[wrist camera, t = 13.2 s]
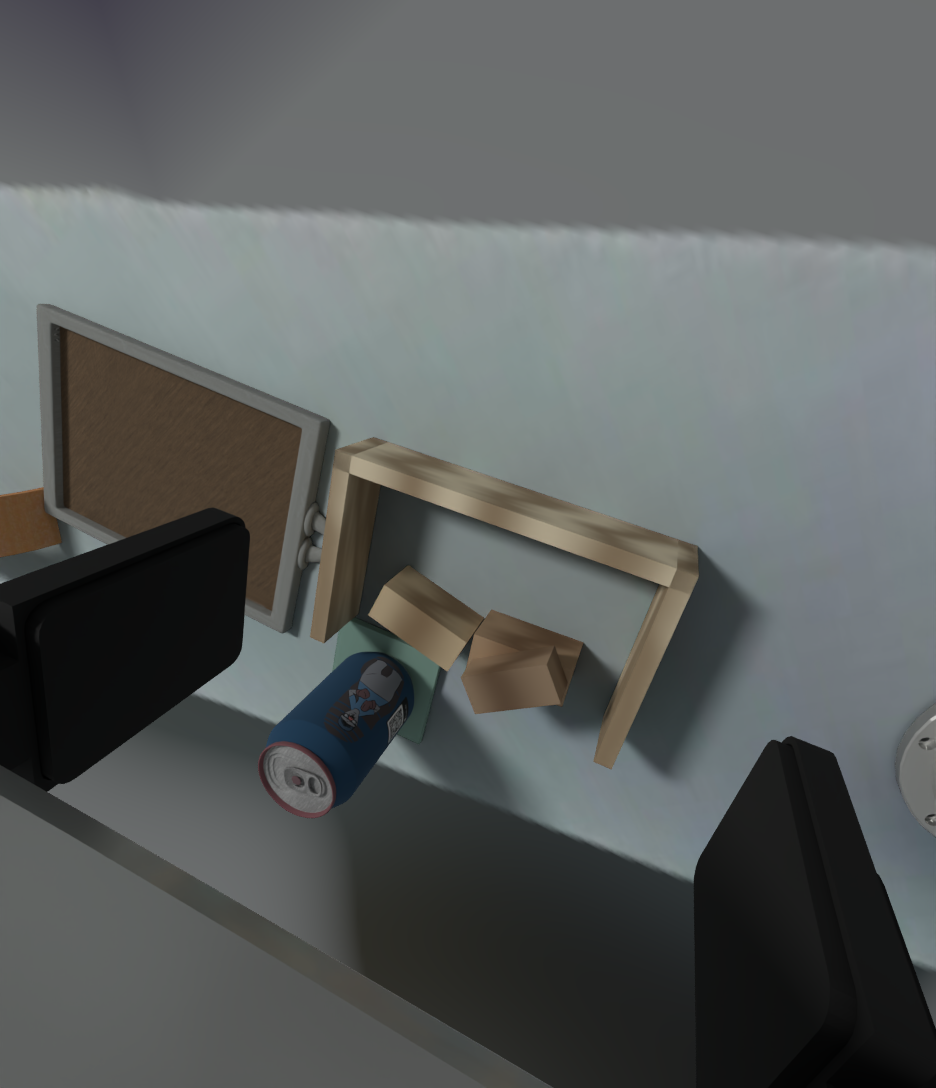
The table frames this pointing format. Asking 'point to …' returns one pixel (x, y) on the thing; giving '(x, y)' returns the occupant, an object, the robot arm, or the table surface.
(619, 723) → the enclosure
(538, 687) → the offcut top
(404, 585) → the offcut
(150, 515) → the framed cork board
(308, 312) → the table surface
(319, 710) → the soda can
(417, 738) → the mat
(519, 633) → the offcut
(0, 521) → the arch
